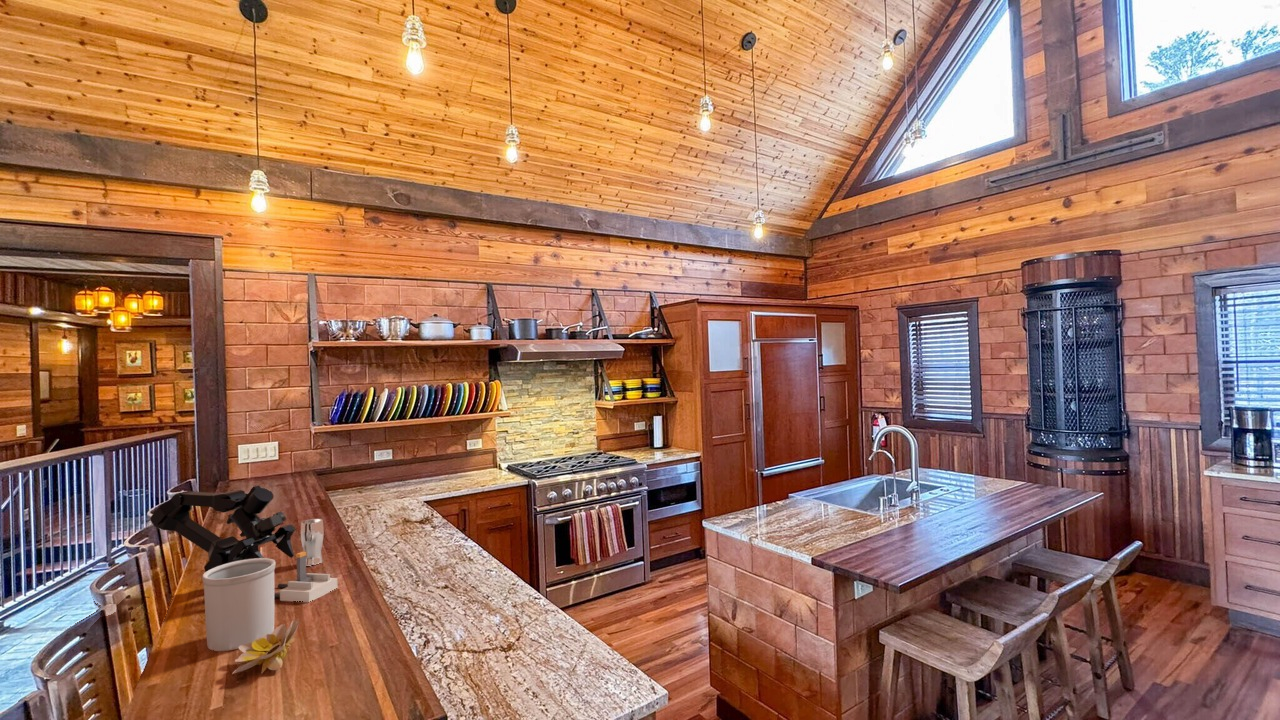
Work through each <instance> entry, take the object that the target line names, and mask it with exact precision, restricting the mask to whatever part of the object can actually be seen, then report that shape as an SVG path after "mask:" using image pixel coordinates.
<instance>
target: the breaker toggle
mask: <svg viewBox="0 0 1280 720" xmlns="http://www.w3.org/2000/svg"><path fill="white" fill-rule="evenodd" d="M295 558H296V580H295V581H300V582H309V581H311V580H312V577H306V574H307V567H306V552H303V551H301V552H298V553H296V554H295Z"/></svg>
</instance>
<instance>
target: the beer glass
mask: <svg viewBox="0 0 1280 720" xmlns="http://www.w3.org/2000/svg"><path fill="white" fill-rule="evenodd" d="M300 526H301V527H300V541H301V547H302V552H306V566H310V567H312V566H311V565H316V564H319V563H321V564H322V563H323V555H322V548H323V542H324V535H325V534H324V519H323V518H310V519H306V520H303V521H301V524H300ZM319 565H320V564H319ZM316 566H317V565H316Z"/></svg>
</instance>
